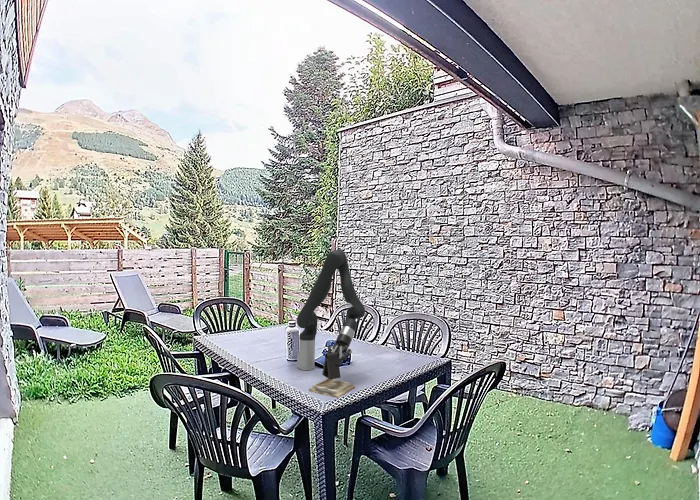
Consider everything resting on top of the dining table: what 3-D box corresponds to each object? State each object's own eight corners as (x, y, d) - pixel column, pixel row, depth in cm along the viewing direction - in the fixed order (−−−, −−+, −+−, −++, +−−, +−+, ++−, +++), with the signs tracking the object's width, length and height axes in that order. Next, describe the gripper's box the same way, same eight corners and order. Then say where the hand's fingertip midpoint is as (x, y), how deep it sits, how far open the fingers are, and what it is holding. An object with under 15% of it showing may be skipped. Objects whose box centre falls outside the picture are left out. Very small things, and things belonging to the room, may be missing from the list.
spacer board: (308, 391, 227) (309, 386, 227) (326, 381, 242) (327, 377, 242) (338, 397, 219) (338, 392, 219) (354, 387, 233) (355, 383, 233)
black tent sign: (340, 378, 228) (341, 354, 227) (330, 379, 225) (330, 355, 224) (332, 373, 236) (332, 350, 235) (322, 374, 233) (322, 351, 232)
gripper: (331, 331, 241) (318, 359, 231) (354, 334, 234) (342, 363, 224) (336, 339, 246) (323, 367, 236) (359, 342, 239) (347, 371, 229)
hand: (333, 365), depth 230 cm, fingers closed on black tent sign, 4 cm apart
